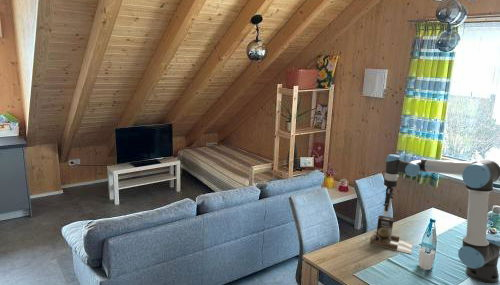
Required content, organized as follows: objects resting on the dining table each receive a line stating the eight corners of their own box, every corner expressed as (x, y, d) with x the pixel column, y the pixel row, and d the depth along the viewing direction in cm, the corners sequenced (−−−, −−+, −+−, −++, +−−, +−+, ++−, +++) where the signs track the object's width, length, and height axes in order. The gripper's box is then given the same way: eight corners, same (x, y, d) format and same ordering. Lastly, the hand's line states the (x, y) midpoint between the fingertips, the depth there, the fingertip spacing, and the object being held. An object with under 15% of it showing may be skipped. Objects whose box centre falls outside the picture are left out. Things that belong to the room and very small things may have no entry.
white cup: (435, 270, 205) (438, 253, 203) (423, 271, 204) (425, 254, 201) (427, 262, 212) (429, 246, 210) (414, 263, 211) (416, 247, 209)
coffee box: (375, 242, 234) (377, 218, 231) (375, 237, 240) (378, 214, 236) (390, 245, 231) (393, 221, 227) (390, 240, 236) (393, 217, 233)
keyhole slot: (410, 254, 221) (411, 249, 220) (370, 244, 231) (370, 240, 230) (412, 243, 235) (413, 239, 234) (374, 234, 245) (374, 230, 245)
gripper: (395, 186, 214) (391, 220, 218) (399, 175, 236) (395, 206, 240) (381, 184, 217) (378, 217, 221) (386, 173, 239) (383, 204, 243)
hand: (386, 211), depth 231 cm, fingers open, 13 cm apart
